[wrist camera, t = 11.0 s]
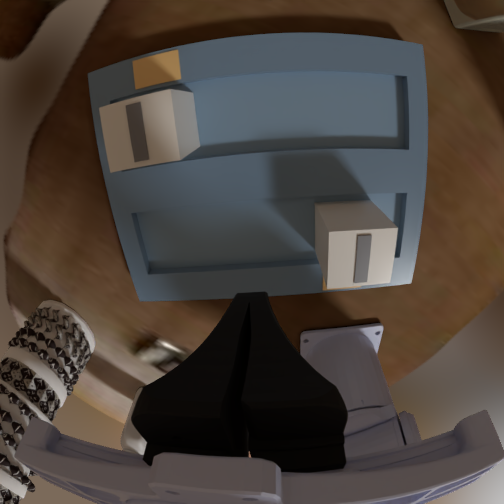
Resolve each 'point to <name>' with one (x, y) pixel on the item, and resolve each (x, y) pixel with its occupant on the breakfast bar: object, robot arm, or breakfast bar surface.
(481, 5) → the skincare box
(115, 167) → the white striped block
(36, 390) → the decorative candle
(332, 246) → the white block
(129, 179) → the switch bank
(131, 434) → the white rounded block
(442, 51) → the breakfast bar surface
